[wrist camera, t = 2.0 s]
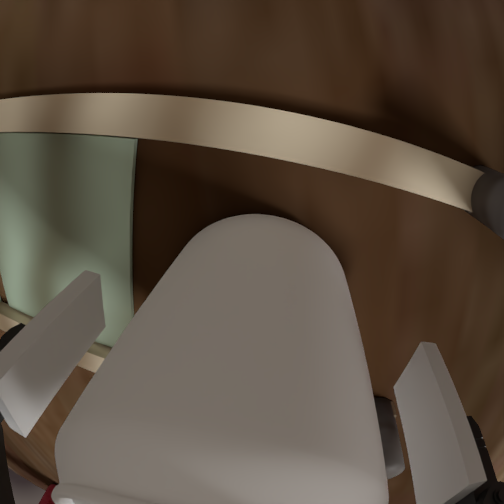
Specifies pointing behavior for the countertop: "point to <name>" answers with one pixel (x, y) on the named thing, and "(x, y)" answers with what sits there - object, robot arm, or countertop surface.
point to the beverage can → (232, 384)
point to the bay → (122, 191)
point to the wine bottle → (48, 495)
